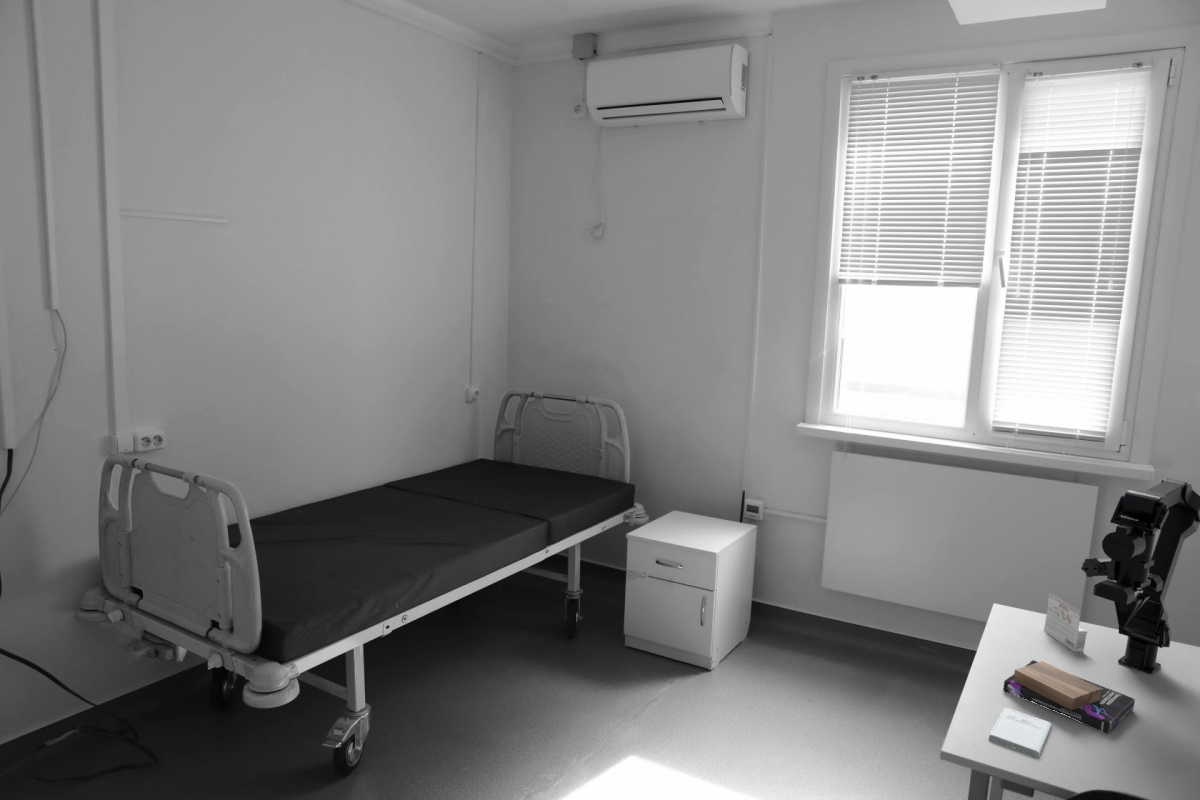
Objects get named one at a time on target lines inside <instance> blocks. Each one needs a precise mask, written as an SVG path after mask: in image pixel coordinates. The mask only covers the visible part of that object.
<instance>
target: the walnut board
mask: <svg viewBox="0 0 1200 800" xmlns="http://www.w3.org/2000/svg"><path fill="white" fill-rule="evenodd" d="M1037 662H1038V663H1035V664H1031V665H1028V666H1026V665H1025V666H1023V667H1019V668H1015V669H1014V673H1013V675H1014V680H1013V681H1015V682H1017V683H1019V684H1021V685H1023V686H1025V687H1027V688H1029V689H1031V690H1033V691H1035V692H1037V693H1039V694H1040V695H1042V696H1044V697H1046V698H1048V699H1050V700H1052V701H1054V702H1056V703H1058V704H1060V705H1062V706H1064V707H1066V708H1068V709H1070V710H1074V709H1076V708H1079V707H1082V706H1085V705H1087V704H1090V703H1093V702H1096V701H1098V700H1099V698H1100V692H1101V689H1100V688H1098V687H1096V686H1094V685H1092V684H1090V683H1088V682H1086V681H1084V680H1085V679H1084V680H1081V679H1079V678H1080V677H1079V678H1077V677H1078V676H1076V675H1074V676H1073V674H1071V673H1068V672H1067V671H1065V670H1063V669H1060V668H1058V667H1055V666H1054V665H1052V664H1049V663H1048V662H1045V661H1042V660H1041V661H1037ZM1075 676H1076V677H1075Z"/></svg>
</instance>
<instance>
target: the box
mask: <svg viewBox="0 0 1200 800" xmlns="http://www.w3.org/2000/svg"><path fill="white" fill-rule="evenodd" d="M1038 662H1039V661H1037V660H1035V659H1033V660H1031V661H1030V662H1029V663H1028V664H1026V665H1025V666H1028V665H1031V664H1035V663H1038ZM1072 675H1073V674H1072ZM1073 676H1075V677H1077V678H1079V679H1081V680H1084V681H1086V682H1088V683H1090V684H1092V685H1094V686H1096V687H1098V688H1100V689H1101V692H1100V698H1099V700H1098V701H1096V702H1093V703H1090V704H1087V705H1085V706H1082V707H1079V708H1076V709H1074V710H1070V709H1068V708H1066V707H1064V706H1062V705H1060V704H1058V703H1056V702H1054V701H1052V700H1050V699H1048V698H1046V697H1044V696H1042V695H1040V694H1039V693H1037V692H1035V691H1033V690H1031V689H1029V688H1027V687H1025V686H1023V685H1021V684H1019V683H1017V682H1015V681H1013V680H1014V674H1011V676H1010V677H1008V678H1007V679H1005V680H1004V681H1003V689H1002V691H1004V692H1006V693H1007V692H1008V694H1010V693H1011V694H1010V695H1012V694H1013V695H1012V696H1015V695H1016V696H1015V697H1017V696H1019V697H1018V698H1020V697H1021V698H1020V699H1022V698H1024V699H1027V700H1029V701H1033V702H1035V703H1037V704H1039V705H1042V706H1045V707H1047V708H1049V709H1051V710H1055V711H1057V712H1059V713H1063V714H1065V715H1067V716H1070V717H1071V718H1074V719H1076V720H1078V721H1080V722H1082V723H1081V724H1083V723H1084V724H1083V725H1085V724H1087V725H1086V726H1088V725H1089V726H1088V727H1090V726H1091V728H1092V727H1093V729H1095V730H1097V731H1100V732H1102V733H1105V734H1107V735H1110V734H1111V733H1112V732H1113V730H1114V729H1116V727H1118V726H1119V725H1120V724H1121V723H1122V722H1123V721H1124V720H1125V718H1127V717H1128V716H1129V715H1130V714H1131V713H1132V712H1133V710H1134V706H1135V700H1136V699H1135V698H1133V697H1130V696H1128V695H1126V694H1123V693H1122V692H1118V691H1116V690H1112V689H1111V688H1107V687H1105V686H1103V685H1100V684H1097V683H1095V682H1093V681H1090V680H1086V679H1084V678H1082V677H1080V676H1076V675H1073ZM1024 699H1023V700H1024ZM1027 700H1026V701H1027ZM1029 701H1028V702H1029ZM1037 704H1036V705H1037ZM1039 705H1038V706H1039ZM1049 709H1048V710H1049ZM1051 710H1050V711H1051ZM1071 718H1070V719H1071ZM1078 721H1077V722H1078ZM1080 722H1079V723H1080Z"/></svg>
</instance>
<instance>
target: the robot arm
mask: <svg viewBox="0 0 1200 800" xmlns="http://www.w3.org/2000/svg"><path fill="white" fill-rule="evenodd" d="M1110 523H1111V524H1114V525H1116V528H1115V531H1112V532H1110V533H1107V534H1105V536H1104V537H1103V539H1102V542H1101V547H1102V548H1101V549H1102V551H1103V552H1104V554H1105V555H1106V556H1107V557H1108V558H1097V557H1087V558H1085V559H1084V561H1083V562H1082V566H1081V571H1083V572H1084V574H1085V576H1086V577H1087V578H1093V577H1106V579H1105V580H1103V581H1100V582H1097V583H1095V584H1094V585H1093V591H1092V595H1094V596H1096V597H1099V598H1102V599H1106V600H1109V601H1112V602H1114V608H1115V613H1116V620H1117V624H1118V634H1120V635H1123V636H1126V637H1127V640H1126V646H1125V653H1124V655H1123V656H1122V657H1120V658H1119V659H1118V661H1117V663H1119V664H1122V665H1125V666H1128V667H1129V668H1132V669H1136V670H1138V671H1140V672H1143V673H1147V674H1154V672H1156V671H1157V670H1158V669H1159V668H1161V666H1162V664H1161V663H1159V662H1157V657H1158V652H1159V649H1163V648H1170V645H1171V640H1172V630H1171V628H1170V623H1169V621H1168V619H1169V613H1168V610H1167V606H1166V604H1165V599H1166V596H1167V593H1168V590H1169V587H1170V584H1171V581H1172V577H1173V574H1174V572H1175V569H1176V566H1177V564H1178V560H1179V557H1180V554H1181V552H1182V548H1183V545H1184V542H1185V540H1186V539H1187V538H1189V537H1191V536H1192V535H1193V534H1195V533H1197V531H1198V529H1199V526H1200V495H1199V494H1198V493H1197V492H1196V491H1195V490H1194V489H1193V487H1192V484H1191V483H1188V481H1182V480H1178V479H1174V478H1173V479H1172V478H1163V479H1162V480H1161V482H1160V483H1158V484H1156V485H1153V486H1152V487H1150V488H1148V489H1147V490H1142V489H1134V488H1133V489H1128V490H1127V491H1125V492H1124V493H1123V494H1122V495H1121V496H1120V498H1119V500H1118V502H1117V505H1116V507H1115V509H1114V512H1113V515H1112V517H1111V519H1110ZM1158 530H1160V531H1159V534H1158V538H1157V541H1156V544H1155V539H1156V533H1157V532H1158ZM1154 544H1155V546H1154Z"/></svg>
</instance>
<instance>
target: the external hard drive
mask: <svg viewBox="0 0 1200 800" xmlns="http://www.w3.org/2000/svg"><path fill="white" fill-rule="evenodd" d="M1050 728H1051V729H1052V723H1051V722H1050V721H1047V720H1045V719H1041V718H1037V717H1036V716H1032V715H1029V714H1026V713H1023V712H1022V711H1021V712H1020V711H1017V710H1014V709H1012V708H1008V707H1004V708H1003V710H1002V712H1001V714H1000V715H999V716H998V719H997V721H996V722H995V724H994V726H993V728H992V729H991V732H990V733H989V736H988V740H990V741H993V742H995V743H998V744H1001V745H1003V744H1004V745H1003V746H1006V745H1008V746H1007V747H1009V746H1011V747H1010V748H1012V747H1014V748H1016V749H1015V750H1017V749H1019V750H1018V751H1020V750H1021V751H1020V752H1023V751H1024V752H1023V753H1026V754H1028V753H1029V755H1031V754H1032V755H1031V756H1034V755H1036V756H1035V757H1037V756H1038V757H1037V758H1039V757H1040V755H1041V753H1042V749H1043V748H1044V746H1043V745H1045V743H1046V741H1047V738H1048V736H1049V734H1050V732H1051V729H1050ZM1048 733H1049V734H1048ZM1014 748H1013V749H1014ZM1040 752H1041V753H1040Z"/></svg>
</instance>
